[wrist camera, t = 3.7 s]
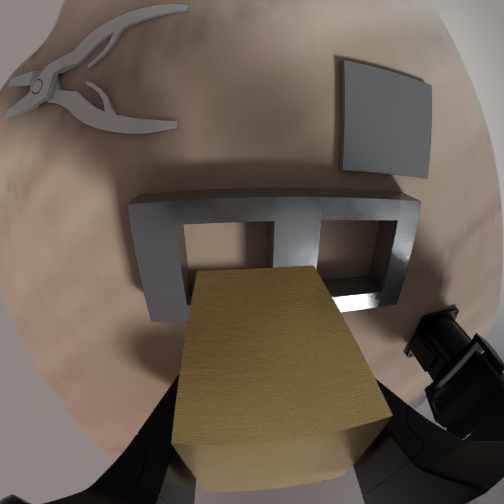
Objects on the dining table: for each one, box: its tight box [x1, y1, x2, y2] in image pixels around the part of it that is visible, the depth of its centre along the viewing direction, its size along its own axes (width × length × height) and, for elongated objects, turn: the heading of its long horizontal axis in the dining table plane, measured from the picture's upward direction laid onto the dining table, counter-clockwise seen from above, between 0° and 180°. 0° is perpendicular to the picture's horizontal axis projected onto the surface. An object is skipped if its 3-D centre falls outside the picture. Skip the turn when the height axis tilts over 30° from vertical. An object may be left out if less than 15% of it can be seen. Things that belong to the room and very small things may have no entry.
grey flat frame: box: [127, 188, 421, 322], centre depth 19 cm, size 20×9×2 cm, turn 90°
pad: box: [339, 60, 432, 179], centre depth 16 cm, size 8×8×1 cm
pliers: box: [5, 4, 189, 134], centre depth 13 cm, size 10×2×15 cm
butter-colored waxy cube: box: [171, 265, 393, 492], centre depth 8 cm, size 5×5×7 cm
